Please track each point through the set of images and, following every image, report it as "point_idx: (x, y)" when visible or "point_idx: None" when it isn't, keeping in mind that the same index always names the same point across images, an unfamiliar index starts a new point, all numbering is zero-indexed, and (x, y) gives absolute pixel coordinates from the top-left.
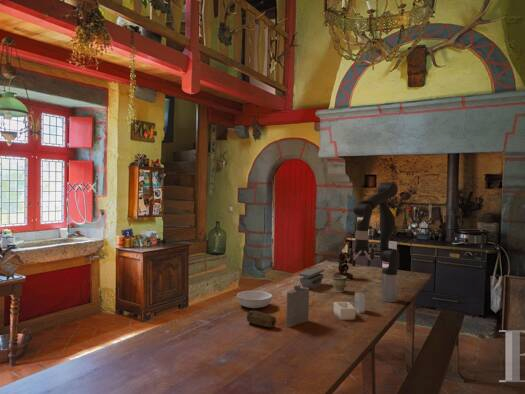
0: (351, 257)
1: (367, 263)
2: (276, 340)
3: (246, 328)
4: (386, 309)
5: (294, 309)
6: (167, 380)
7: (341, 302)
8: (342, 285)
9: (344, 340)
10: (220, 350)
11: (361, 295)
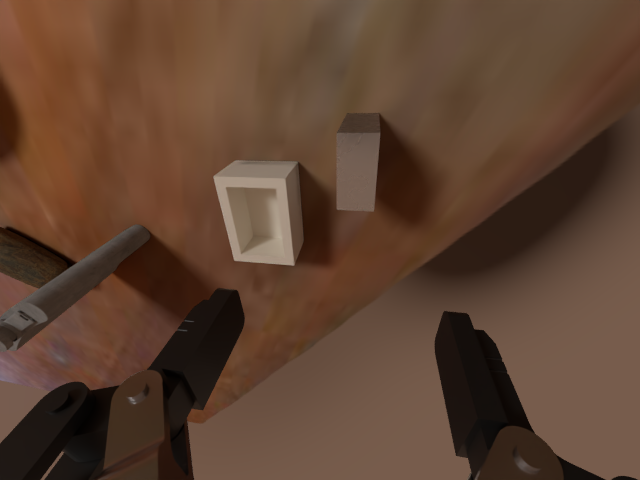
0: (99, 457)
1: (450, 361)
2: (107, 323)
3: None
4: (532, 125)
5: (79, 295)
6: (32, 379)
7: (250, 184)
8: None
9: (240, 345)
10: (37, 336)
11: (351, 207)
